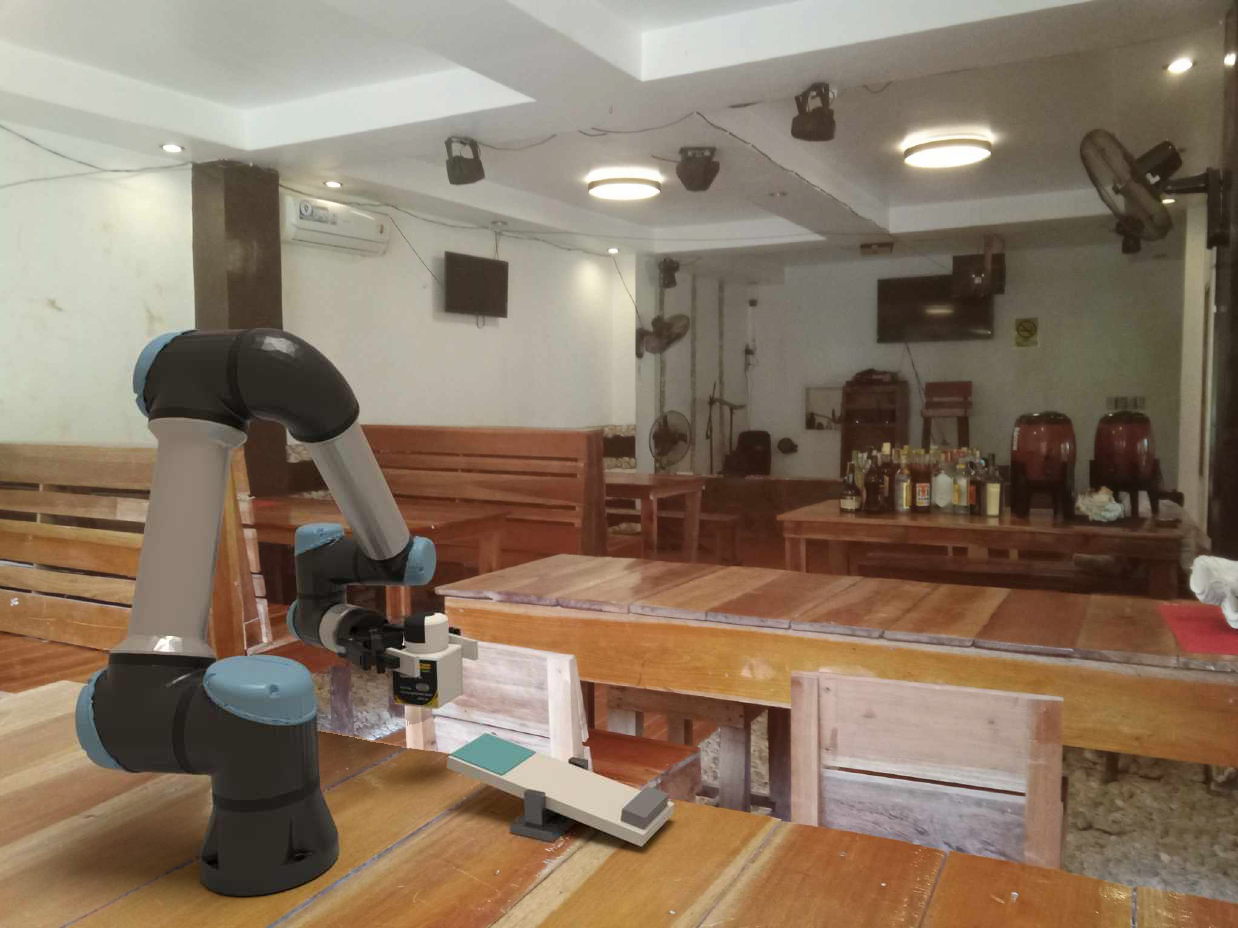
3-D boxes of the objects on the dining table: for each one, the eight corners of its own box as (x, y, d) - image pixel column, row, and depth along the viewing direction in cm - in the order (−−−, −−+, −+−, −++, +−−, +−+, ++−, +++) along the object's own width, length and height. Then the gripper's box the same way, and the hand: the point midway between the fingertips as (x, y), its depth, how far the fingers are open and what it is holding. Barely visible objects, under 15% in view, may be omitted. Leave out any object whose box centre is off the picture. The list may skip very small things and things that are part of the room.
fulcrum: (603, 798, 125) (602, 760, 124) (552, 842, 113) (551, 800, 113) (563, 790, 127) (562, 752, 127) (510, 832, 116) (508, 791, 115)
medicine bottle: (392, 704, 130) (389, 618, 130) (420, 689, 137) (417, 607, 136) (438, 709, 128) (434, 622, 127) (464, 693, 135) (461, 610, 134)
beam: (672, 814, 118) (676, 791, 118) (641, 846, 110) (645, 822, 110) (486, 742, 130) (489, 722, 130) (446, 767, 122) (449, 745, 122)
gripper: (417, 641, 152) (509, 666, 137) (290, 673, 137) (379, 705, 121) (415, 595, 152) (507, 615, 137) (288, 621, 136) (376, 648, 121)
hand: (447, 658), depth 129 cm, fingers closed on medicine bottle, 9 cm apart
